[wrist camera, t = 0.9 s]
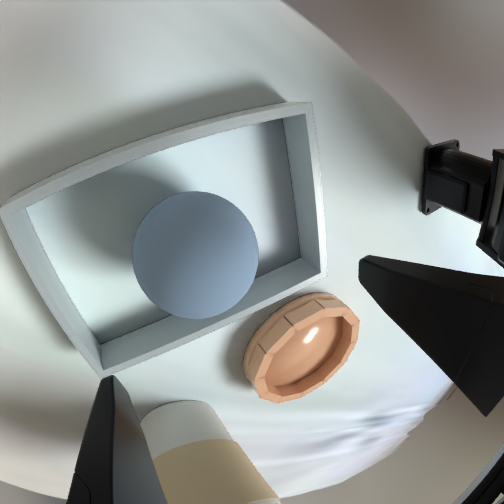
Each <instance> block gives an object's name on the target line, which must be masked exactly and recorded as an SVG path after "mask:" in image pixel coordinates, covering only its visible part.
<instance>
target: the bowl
mask: <svg viewBox="0 0 504 504" xmlns="http://www.w3.org/2000/svg"><path fill="white" fill-rule="evenodd" d="M359 321H360V320H359V319H358V317H357V316H356V315H355V314H354V313H353V312H352V310H351V309H350V308H349V307H348V306H347V305H345V304H344V303H343V302H342V301H341V300H339V299H338V298H337V297H335V296H334V295H331V294H328V293H313V294H308V295H305V296H302V297H299V298H297V299H295V300H293V301H291V302H289V303H287V304H286V305H284V306H283V307H281V308H280V309H278V310H277V311H276V312H274V313H273V314H272V315H271V316H270V317H269V318H268V319H267V320H266V321H265V322H264V323H263V324H262V325H261V326H260V327H259V328H258V330H257V331H256V332H255V334H254V335H253V337H252V338H251V340H250V342H249V344H248V346H247V348H246V351H245V354H244V359H243V369H244V373H245V375H246V377H247V379H248V380H249V382H250V383H251V384H252V387H253V388H254V390H255V391H256V393H257V394H258V396H259V397H260V398H262V399H265V400H268V401H272V402H275V403H281V402H285V401H290V400H294V399H298V398H301V397H303V396H305V395H306V394H308V393H310V392H312V391H313V390H315V389H317V388H318V387H320V386H321V385H323V384H324V382H325V383H326V382H327V381H328V380H329V379H330V378H331V377H332V376H333V375H334V374H335V373H336V372H337V371H338V370H339V369H340V368H341V367H342V366H343V365H344V364H345V362H346V360H347V359H348V357H349V355H350V353H351V352H352V350H353V348H354V346H355V344H356V342H357V340H358V332H359Z"/></svg>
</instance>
